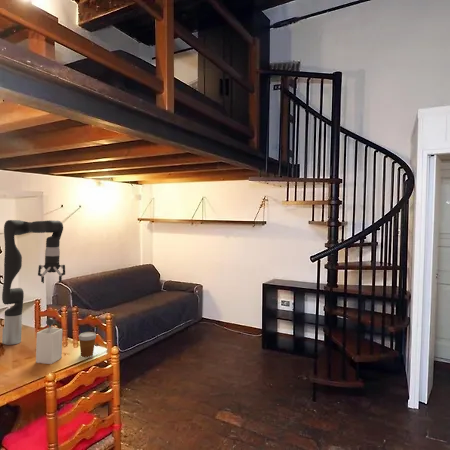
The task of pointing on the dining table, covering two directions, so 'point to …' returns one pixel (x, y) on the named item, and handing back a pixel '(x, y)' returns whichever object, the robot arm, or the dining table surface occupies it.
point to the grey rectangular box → (49, 346)
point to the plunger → (50, 323)
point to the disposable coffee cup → (87, 343)
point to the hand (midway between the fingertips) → (51, 282)
